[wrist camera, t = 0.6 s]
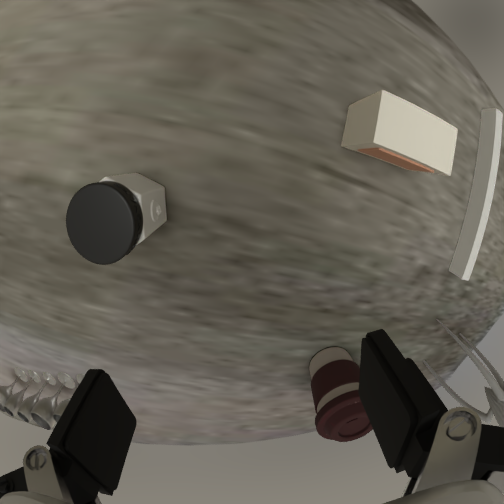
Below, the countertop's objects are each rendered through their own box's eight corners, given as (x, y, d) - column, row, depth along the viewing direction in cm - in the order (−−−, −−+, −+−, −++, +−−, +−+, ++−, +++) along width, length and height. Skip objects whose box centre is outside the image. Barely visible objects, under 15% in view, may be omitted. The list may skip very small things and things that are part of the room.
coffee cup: (345, 382, 46) (370, 444, 32) (294, 382, 45) (309, 450, 31) (364, 340, 43) (401, 401, 29) (309, 337, 42) (334, 406, 28)
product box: (348, 105, 32) (382, 89, 23) (414, 132, 33) (457, 129, 24) (340, 148, 34) (372, 144, 25) (407, 172, 35) (449, 178, 26)
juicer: (408, 356, 45) (486, 472, 17) (437, 318, 43) (535, 423, 14) (435, 366, 47) (505, 464, 18) (460, 332, 45) (544, 422, 16)
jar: (170, 236, 37) (140, 269, 25) (116, 239, 37) (73, 269, 25) (165, 169, 34) (131, 173, 23) (110, 175, 34) (61, 183, 23)
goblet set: (88, 371, 44) (60, 418, 32) (100, 392, 46) (77, 439, 33) (9, 364, 45) (-17, 395, 32) (20, 382, 46) (-4, 414, 34)
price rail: (481, 109, 31) (496, 108, 28) (489, 115, 32) (503, 114, 28) (448, 270, 40) (461, 279, 36) (456, 272, 40) (469, 281, 36)
